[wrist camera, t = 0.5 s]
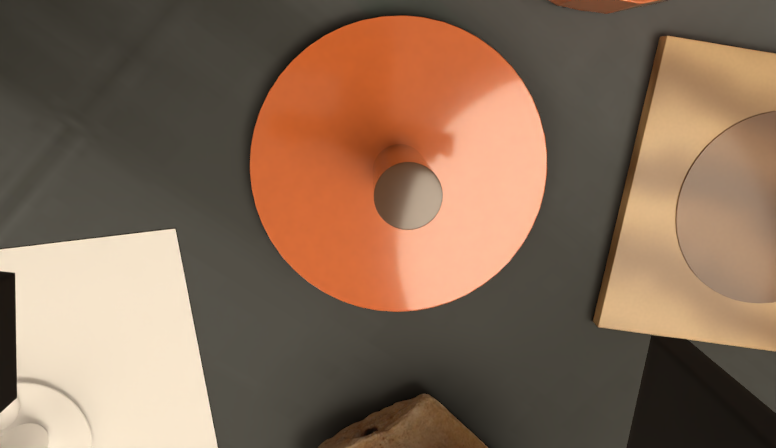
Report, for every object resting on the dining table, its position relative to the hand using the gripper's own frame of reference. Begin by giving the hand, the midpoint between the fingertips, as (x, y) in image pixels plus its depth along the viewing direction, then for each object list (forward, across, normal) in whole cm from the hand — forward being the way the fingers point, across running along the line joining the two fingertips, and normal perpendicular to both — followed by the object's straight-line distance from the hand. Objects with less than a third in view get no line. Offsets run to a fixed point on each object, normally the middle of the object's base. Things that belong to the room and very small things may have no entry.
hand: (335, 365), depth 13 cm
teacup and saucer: (+26, -18, -17) cm, 36 cm away
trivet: (+26, +26, +1) cm, 37 cm away
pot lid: (+26, +2, +1) cm, 26 cm away
